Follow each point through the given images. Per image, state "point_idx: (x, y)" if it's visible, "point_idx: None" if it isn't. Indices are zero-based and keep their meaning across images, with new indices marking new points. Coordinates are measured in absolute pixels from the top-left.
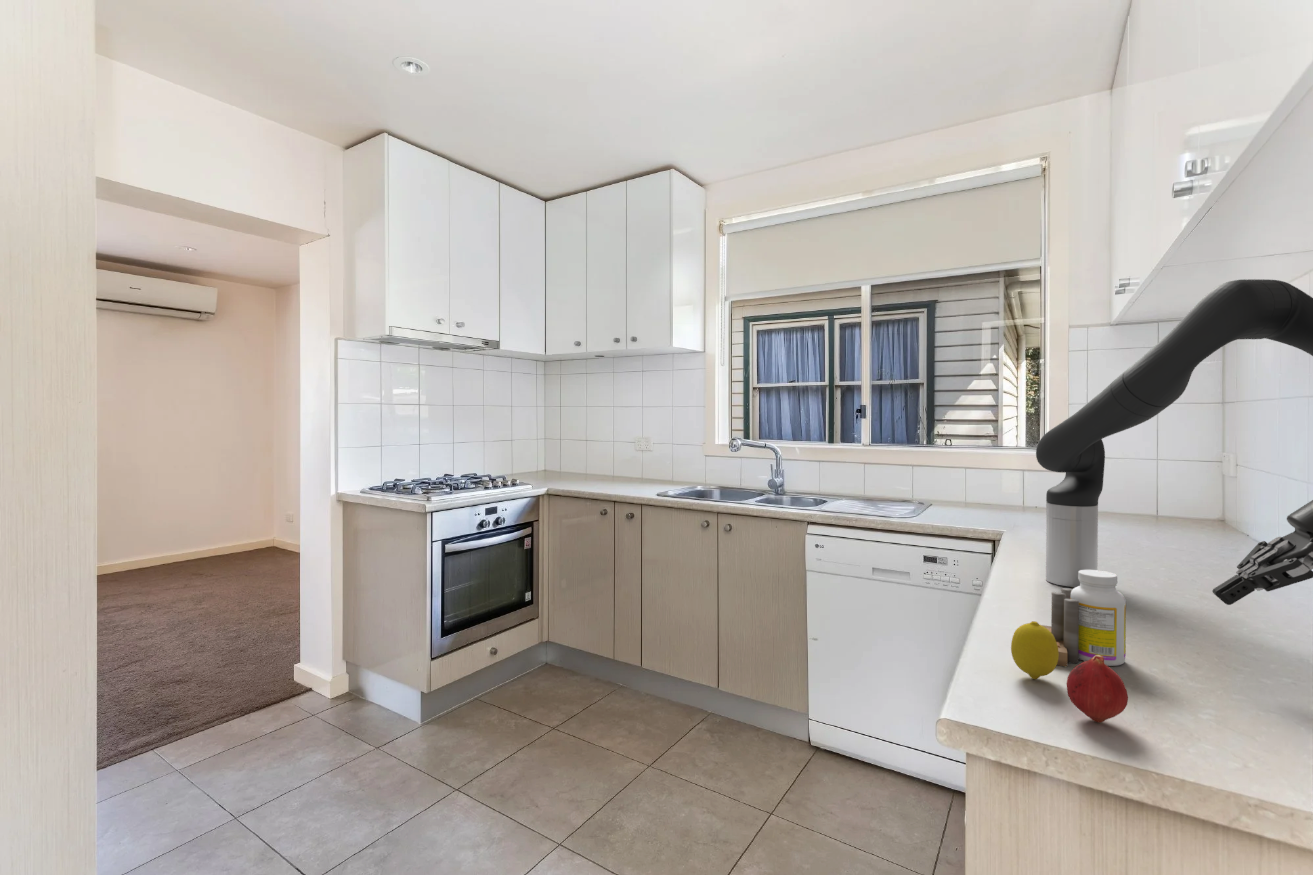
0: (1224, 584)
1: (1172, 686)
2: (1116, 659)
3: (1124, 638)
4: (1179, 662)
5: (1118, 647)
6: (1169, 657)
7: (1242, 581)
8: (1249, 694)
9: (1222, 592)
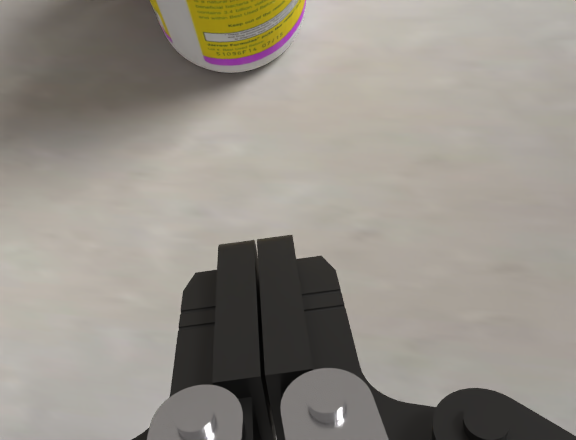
0: (251, 287)
1: (102, 187)
2: (175, 44)
3: (196, 25)
4: (357, 213)
5: (171, 26)
6: (392, 189)
7: (170, 394)
8: (161, 374)
9: (207, 278)
